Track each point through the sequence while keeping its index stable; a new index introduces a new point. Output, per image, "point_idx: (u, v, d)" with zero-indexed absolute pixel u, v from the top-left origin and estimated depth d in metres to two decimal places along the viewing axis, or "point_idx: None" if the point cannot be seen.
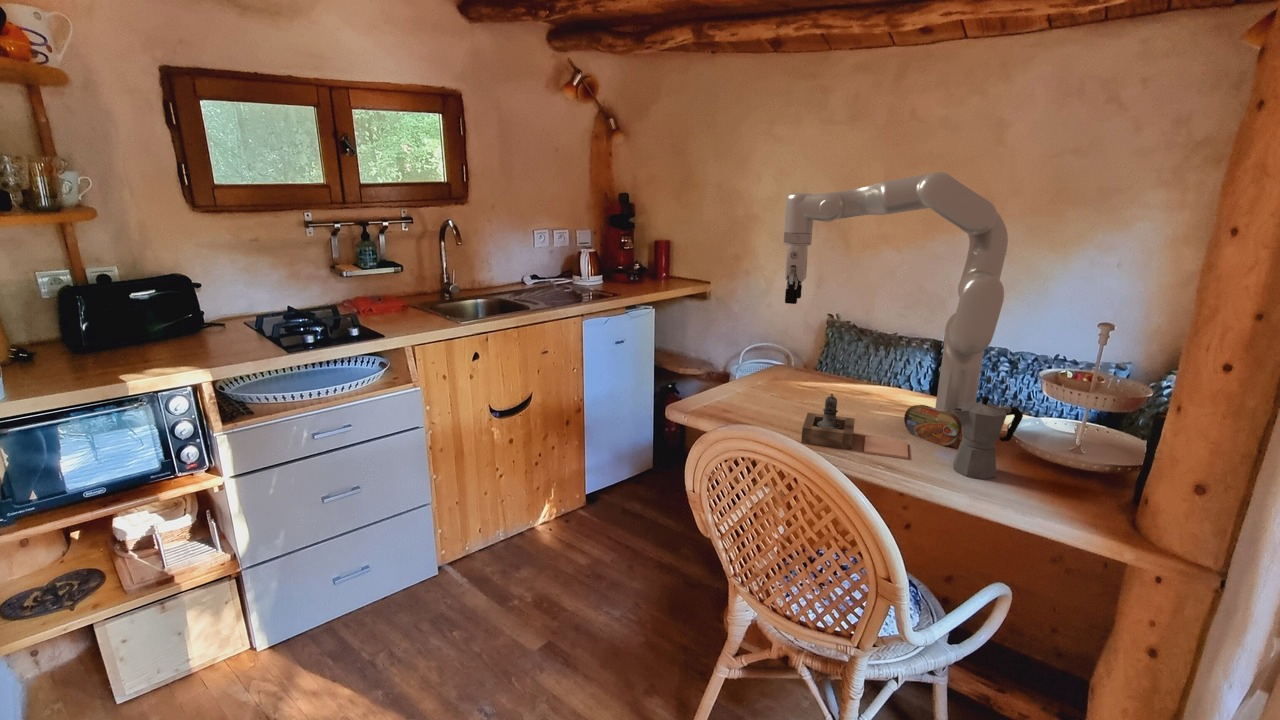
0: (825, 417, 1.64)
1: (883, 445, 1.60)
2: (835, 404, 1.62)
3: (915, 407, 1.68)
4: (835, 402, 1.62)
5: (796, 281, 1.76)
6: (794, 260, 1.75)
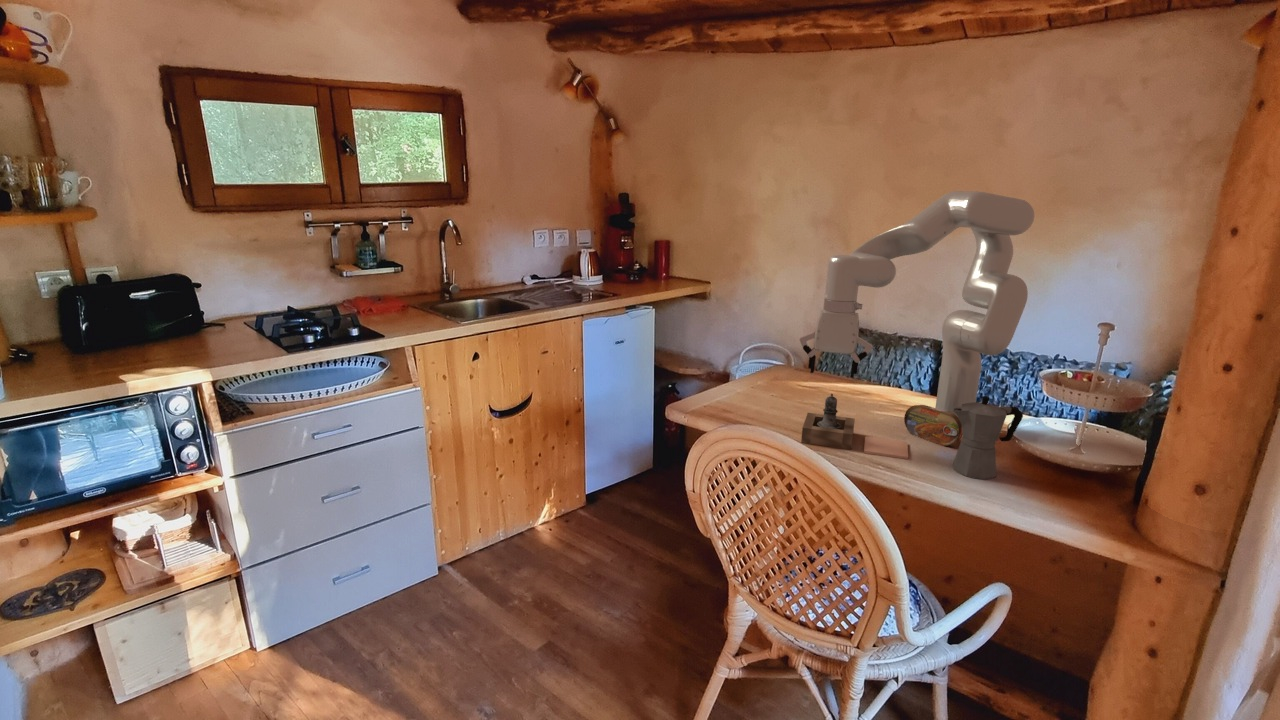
0: (825, 417, 1.64)
1: (883, 445, 1.60)
2: (835, 404, 1.62)
3: (915, 407, 1.68)
4: (835, 402, 1.62)
5: (855, 351, 1.59)
6: (858, 329, 1.57)
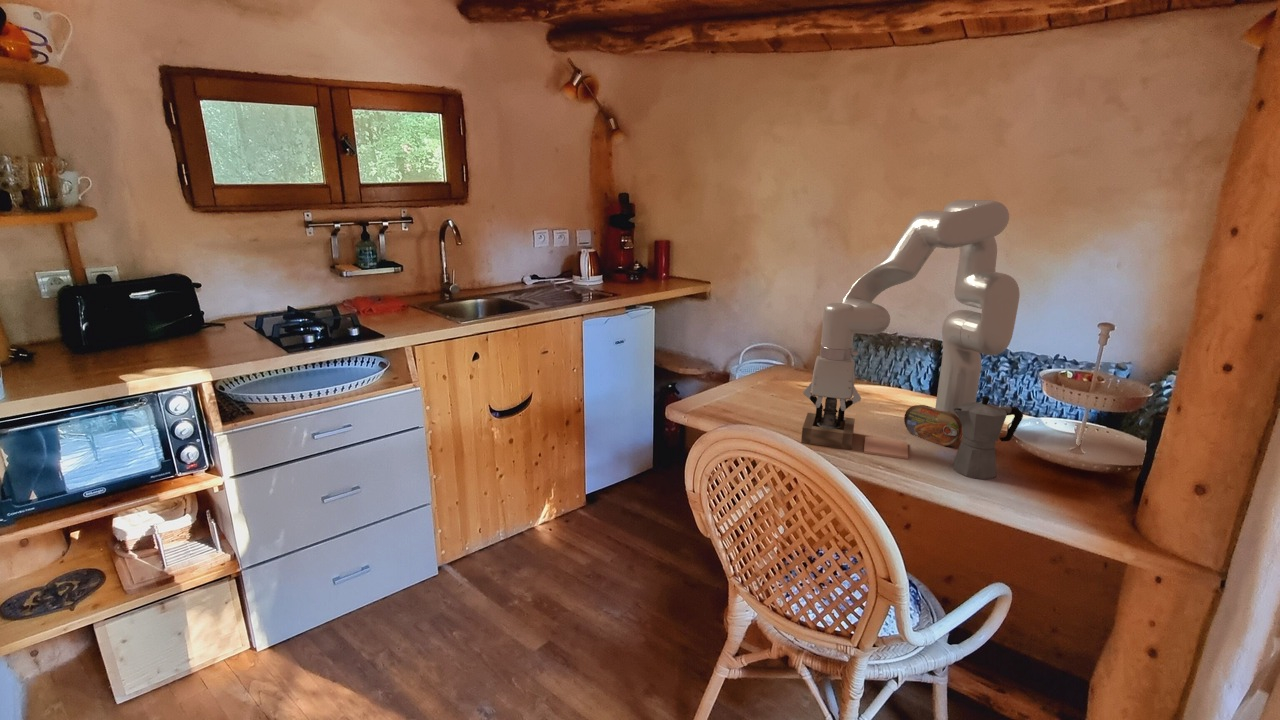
0: (825, 417, 1.64)
1: (883, 445, 1.60)
2: (835, 403, 1.62)
3: (915, 407, 1.68)
4: (835, 402, 1.62)
5: (845, 399, 1.63)
6: (854, 375, 1.60)
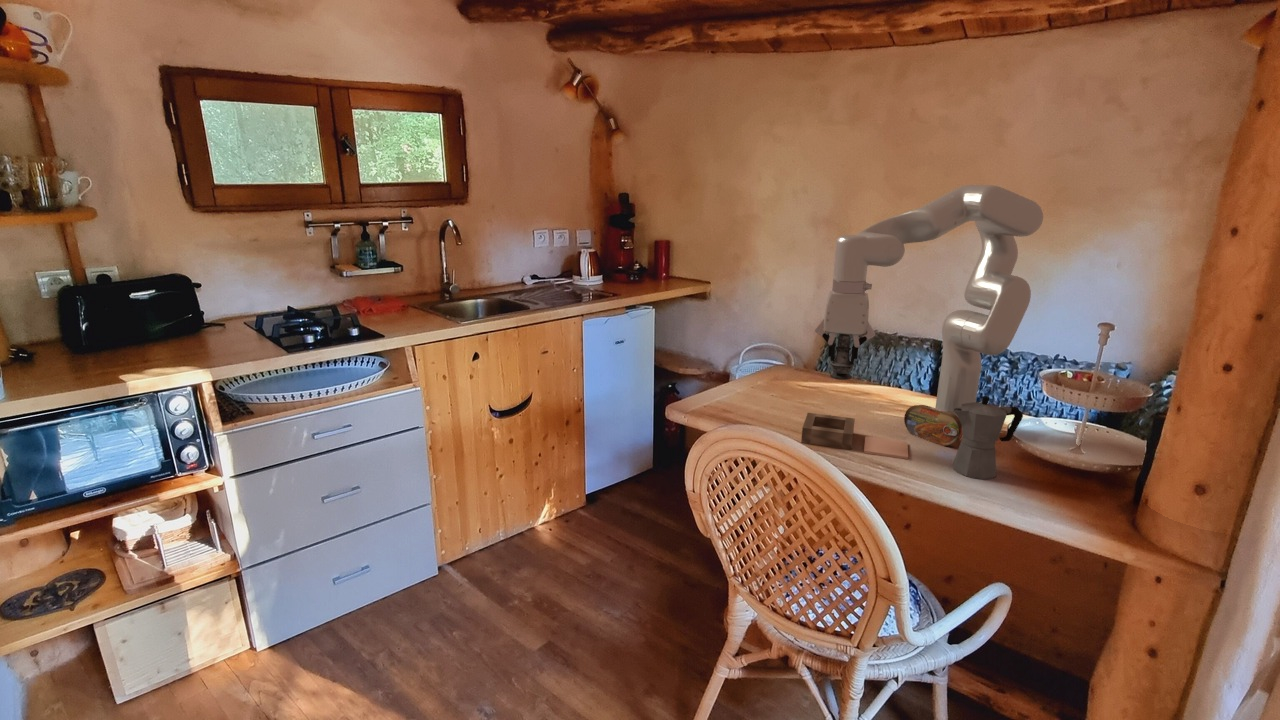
0: (838, 355, 1.59)
1: (883, 445, 1.60)
2: (849, 340, 1.57)
3: (915, 407, 1.68)
4: (848, 339, 1.57)
5: None
6: (868, 310, 1.55)
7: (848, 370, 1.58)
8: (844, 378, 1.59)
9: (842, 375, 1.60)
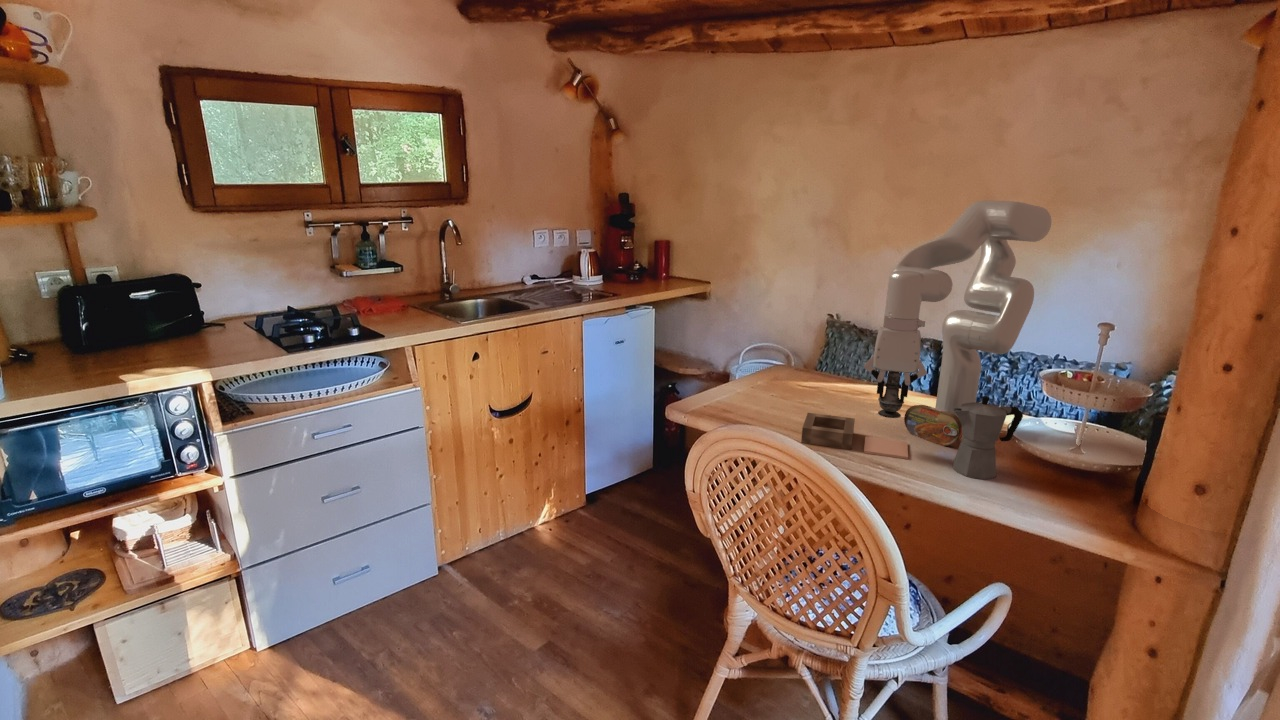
0: (888, 393, 1.55)
1: (883, 445, 1.60)
2: (899, 378, 1.53)
3: (915, 407, 1.68)
4: (899, 376, 1.53)
5: None
6: None
7: (898, 408, 1.54)
8: (893, 416, 1.55)
9: (891, 413, 1.56)
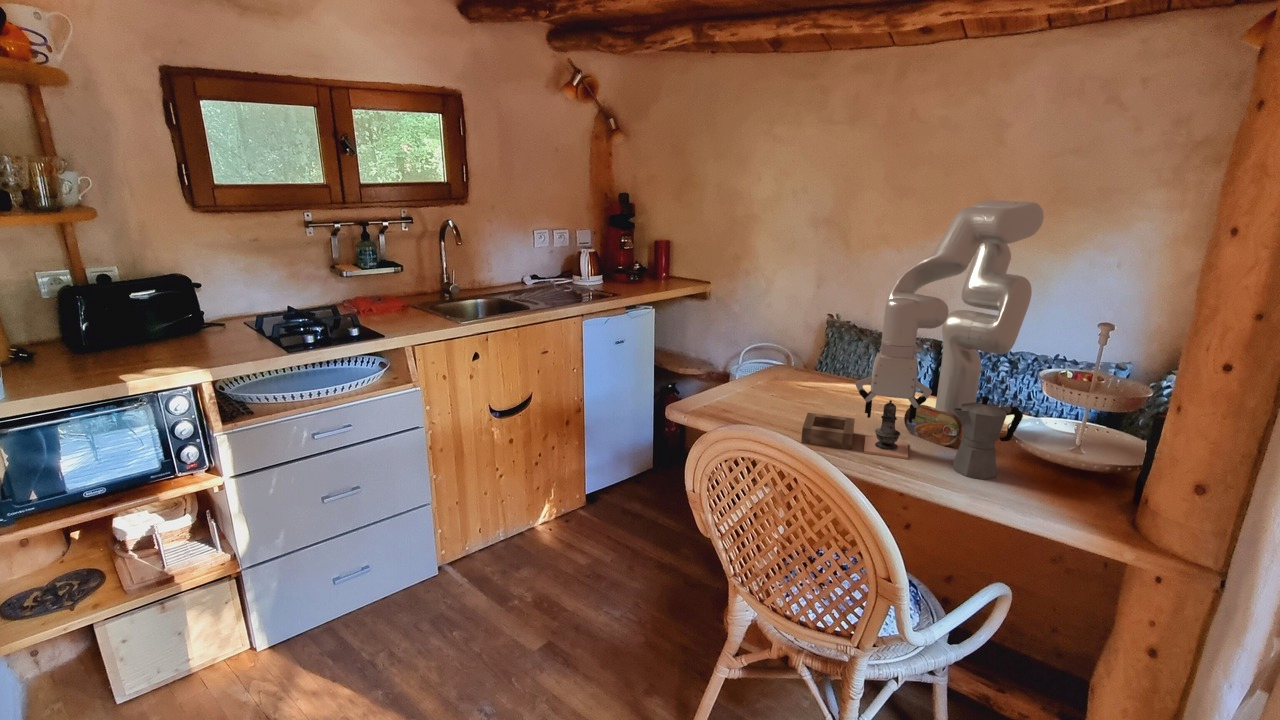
0: (884, 425, 1.57)
1: None
2: (895, 410, 1.56)
3: None
4: (894, 409, 1.56)
5: (913, 395, 1.55)
6: None
7: (894, 440, 1.56)
8: (890, 448, 1.57)
9: (888, 445, 1.58)
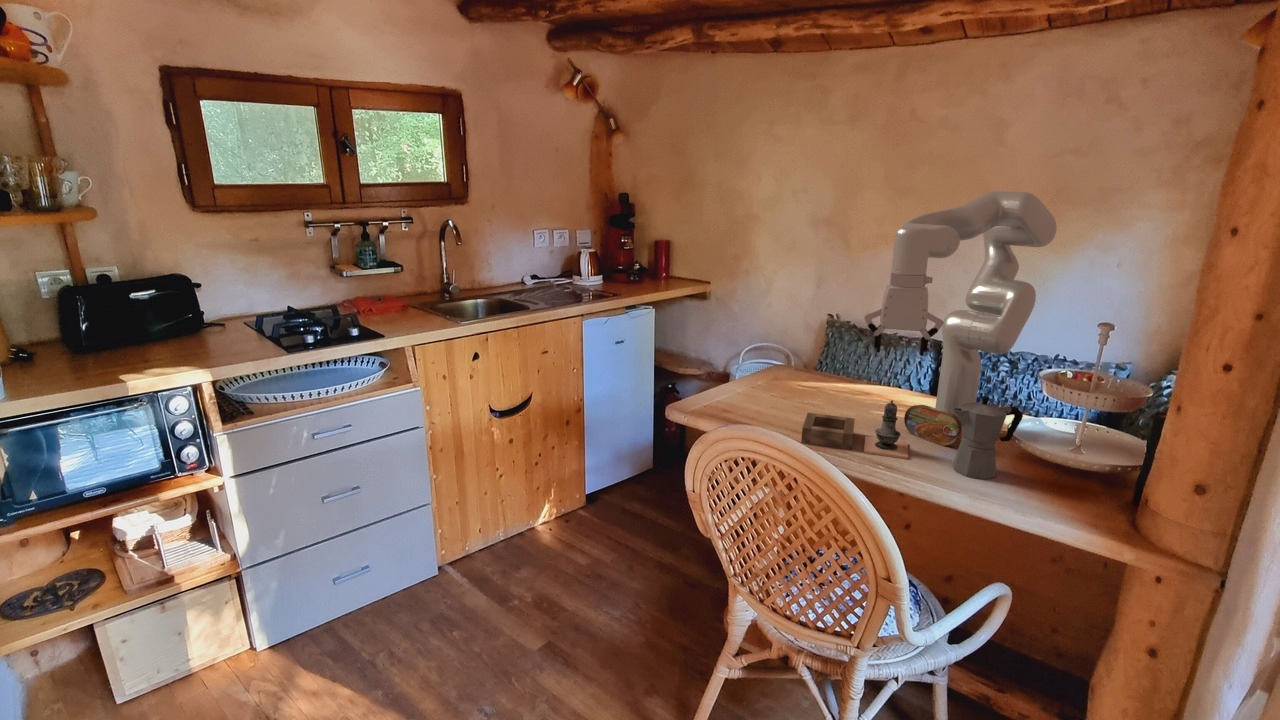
0: (884, 425, 1.57)
1: None
2: (896, 411, 1.56)
3: (915, 407, 1.68)
4: (895, 409, 1.56)
5: (925, 328, 1.51)
6: None
7: (895, 440, 1.56)
8: (890, 448, 1.57)
9: (888, 445, 1.58)
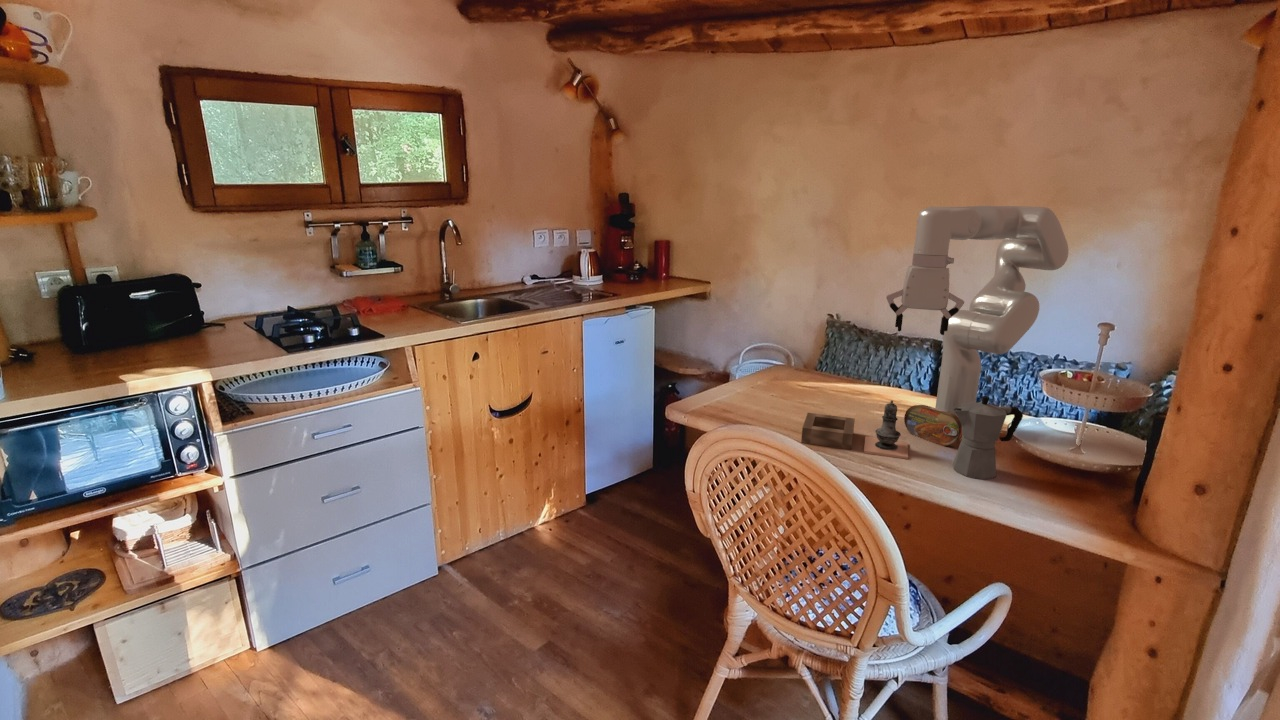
0: (884, 425, 1.57)
1: None
2: (896, 411, 1.56)
3: (915, 407, 1.68)
4: (895, 409, 1.56)
5: None
6: None
7: (895, 440, 1.56)
8: (890, 448, 1.57)
9: (888, 445, 1.58)
